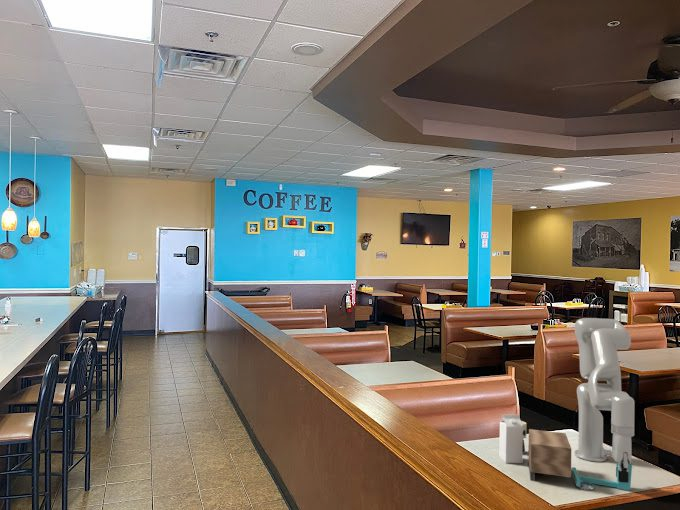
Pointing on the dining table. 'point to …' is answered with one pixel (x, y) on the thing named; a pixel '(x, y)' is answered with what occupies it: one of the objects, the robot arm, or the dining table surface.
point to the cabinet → (549, 453)
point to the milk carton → (511, 439)
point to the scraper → (604, 482)
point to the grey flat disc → (587, 485)
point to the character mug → (524, 434)
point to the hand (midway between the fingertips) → (622, 479)
